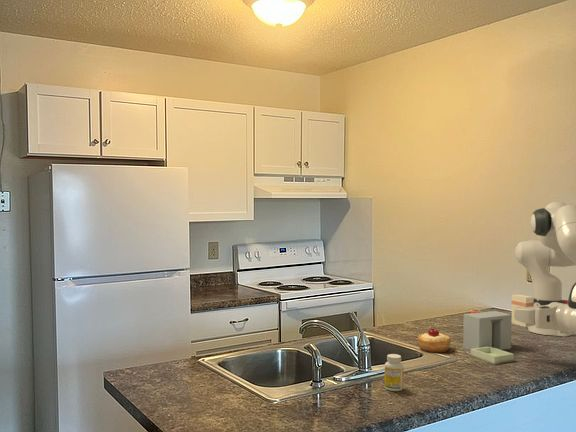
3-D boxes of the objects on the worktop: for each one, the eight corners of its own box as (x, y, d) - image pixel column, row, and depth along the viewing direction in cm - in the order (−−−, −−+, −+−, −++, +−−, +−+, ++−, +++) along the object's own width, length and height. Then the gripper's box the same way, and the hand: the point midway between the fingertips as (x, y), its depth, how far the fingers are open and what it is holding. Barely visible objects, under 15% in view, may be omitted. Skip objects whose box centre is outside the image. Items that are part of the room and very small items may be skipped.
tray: (489, 353, 196) (489, 346, 196) (513, 361, 186) (513, 353, 186) (470, 355, 192) (470, 348, 192) (494, 364, 182) (494, 356, 182)
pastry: (417, 345, 208) (417, 322, 208) (449, 347, 205) (449, 323, 206) (418, 353, 196) (418, 328, 196) (452, 354, 194) (452, 329, 194)
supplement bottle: (395, 392, 154) (396, 359, 154) (380, 388, 158) (381, 355, 158) (406, 388, 158) (407, 356, 157) (391, 384, 162) (392, 352, 161)
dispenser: (494, 343, 210) (495, 310, 210) (511, 348, 203) (511, 314, 202) (463, 347, 203) (463, 314, 203) (479, 353, 196) (479, 318, 196)
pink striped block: (518, 322, 191) (519, 294, 191) (533, 325, 185) (533, 296, 185) (511, 323, 189) (511, 294, 189) (525, 326, 184) (526, 297, 184)
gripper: (579, 304, 179) (543, 297, 191) (536, 309, 170) (501, 302, 183) (579, 323, 179) (543, 315, 192) (535, 329, 170) (501, 320, 183)
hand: (522, 308), depth 187 cm, fingers closed on pink striped block, 4 cm apart
